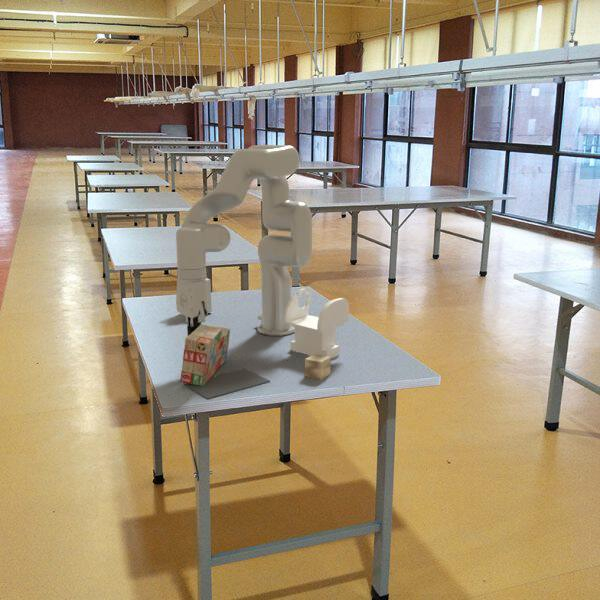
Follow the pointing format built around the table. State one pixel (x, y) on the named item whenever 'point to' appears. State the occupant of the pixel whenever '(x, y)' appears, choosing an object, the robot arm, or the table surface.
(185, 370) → the stack of blocks
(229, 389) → the rubber mat
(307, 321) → the white plastic bracket
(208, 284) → the supplement box
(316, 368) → the beech block
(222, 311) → the table surface
